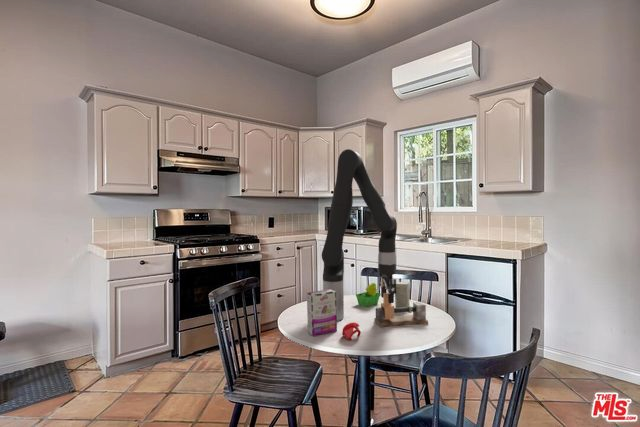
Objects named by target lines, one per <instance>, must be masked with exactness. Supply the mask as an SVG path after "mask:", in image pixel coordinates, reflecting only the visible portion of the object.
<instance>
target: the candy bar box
mask: <svg viewBox="0 0 640 427" xmlns="http://www.w3.org/2000/svg"><path fill="white" fill-rule="evenodd" d="M306 310H307V333H308V334H309V335H310V336H312V337H316V336H321V335H325V334H329V333H330V334H331V333H335V332H337V331H338V321H337V316H336V315H337V314H336V291H334V290H332V289H328V290H323V289H322V290H317V291H310V292H306Z"/></svg>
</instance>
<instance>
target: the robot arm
mask: <svg viewBox="0 0 640 427" xmlns="http://www.w3.org/2000/svg"><path fill="white" fill-rule="evenodd" d="M336 169H337V171H336V181H335V185H334V191H333V193H332V198H331V199H332V200H331V204H330V208H329V209H330V210H329V216H328V217H329V218H328V224H327V233H326V237H325V241H324V245H323V248H322V251H321V260H322V262H323V270H322V271H323V272H322V290H328V289H332V290H334V291H336V314H337V315H336V316H337V322H338V321H342V320H343V319H344V317H345V313H344V309H345V308H344V272H345V253H344V249H343V242H344V237H345V234H346V231H347V228H348V226H349V222H350V219H351V214H352V210H353V209H352V208H353V205H354V204H353V202H354V201H353V200H354V199H353V198H354V197H353V196H354V194H353V182H354V181H355V183H356V184H357V186H358V189H359V191H360V194H361V197H362V199H363V202H364V203H365V205H366V206H367V209H368V210H369V212H370V213H371V217H372V219H373V222H374V225H375V226H376V227H377V229H378V230H379V231H380V238H379V239H378V254H377V255H378V256H377V264H378V265H377V272H378V274H379V275H378V287H379V288H380V289H381V291H380V292H381V293H380V297H381V298H383V293H388V302H389V303H391V304H393V303H394V304H395V294H396V282H397V279H396V278H394V277H393V275H395V274H396V273H397V255H396V238H397V231H398V224H397V219H396V217H395V216H393V215H392V214H389V213H388V210H387V209H386V204H385V201H384V200H383V198H382V196H381V194H380V193H379V191H378V189H377V188H376V187H375V185H374V183H373V182H372V179H371V178H370V176H369V174H368V173H369V172H367V169H366V167H365V164H364V160H363V158H362V156H361V154H359V153H358V152H356V151H355V150H353V149H348V148H347V149H343V151H342V152H341V153H340V154H339V156H338V160H337V168H336ZM353 179H354V180H353Z"/></svg>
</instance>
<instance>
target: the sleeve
mask: <svg viewBox="0 0 640 427" xmlns="http://www.w3.org/2000/svg"><path fill="white" fill-rule="evenodd" d="M380 308H381V309H384V319H394V316H395V313H394V308H395V306H394V305H393V303H389V302H388V292H387V293H383V303H382V302H381V303H380Z"/></svg>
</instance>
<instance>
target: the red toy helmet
mask: <svg viewBox="0 0 640 427" xmlns="http://www.w3.org/2000/svg"><path fill="white" fill-rule="evenodd" d="M359 327H360V324H359V323H357V322H348V323H346V324H345V325H344V326H343V328H342V332H341V333H342V334H341V335H342V336H344V337H345V338H346V339H347V340H349V341H352V337H353V336H354V335H355V334H356V333H357V334H356V337H357V338H360V335H361V333H362V332H361V330H360V328H359Z"/></svg>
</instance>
